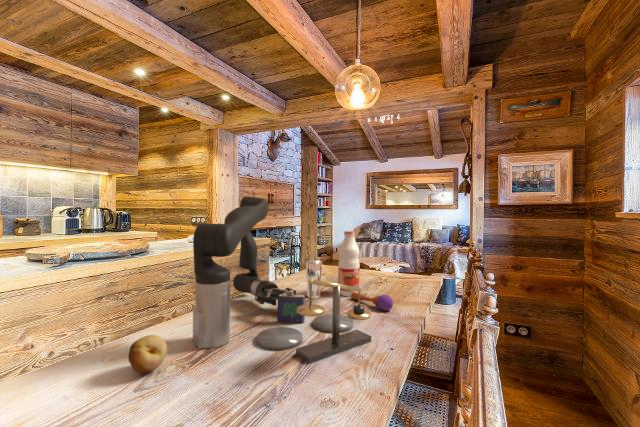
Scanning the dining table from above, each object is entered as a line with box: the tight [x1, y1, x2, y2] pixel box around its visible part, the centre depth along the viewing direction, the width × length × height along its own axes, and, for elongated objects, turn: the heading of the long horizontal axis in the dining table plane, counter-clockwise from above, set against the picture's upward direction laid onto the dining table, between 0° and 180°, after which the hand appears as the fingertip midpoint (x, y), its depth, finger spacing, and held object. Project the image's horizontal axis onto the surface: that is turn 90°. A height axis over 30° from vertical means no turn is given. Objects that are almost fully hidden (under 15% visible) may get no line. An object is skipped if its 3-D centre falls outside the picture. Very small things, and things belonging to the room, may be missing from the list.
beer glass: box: [305, 260, 323, 299], centre depth 133 cm, size 7×7×15 cm
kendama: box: [350, 292, 394, 312], centre depth 123 cm, size 6×6×20 cm
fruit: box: [127, 334, 168, 374], centre depth 71 cm, size 8×8×8 cm
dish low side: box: [312, 313, 354, 334], centre depth 101 cm, size 13×13×1 cm
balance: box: [295, 279, 372, 365], centre depth 85 cm, size 24×7×20 cm, turn 127°
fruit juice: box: [337, 230, 361, 298], centre depth 138 cm, size 9×9×28 cm
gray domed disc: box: [256, 326, 303, 351], centre depth 89 cm, size 13×13×1 cm
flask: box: [276, 289, 306, 325], centre depth 103 cm, size 9×3×11 cm, turn 88°
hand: (286, 300), depth 105 cm, fingers open, 8 cm apart
